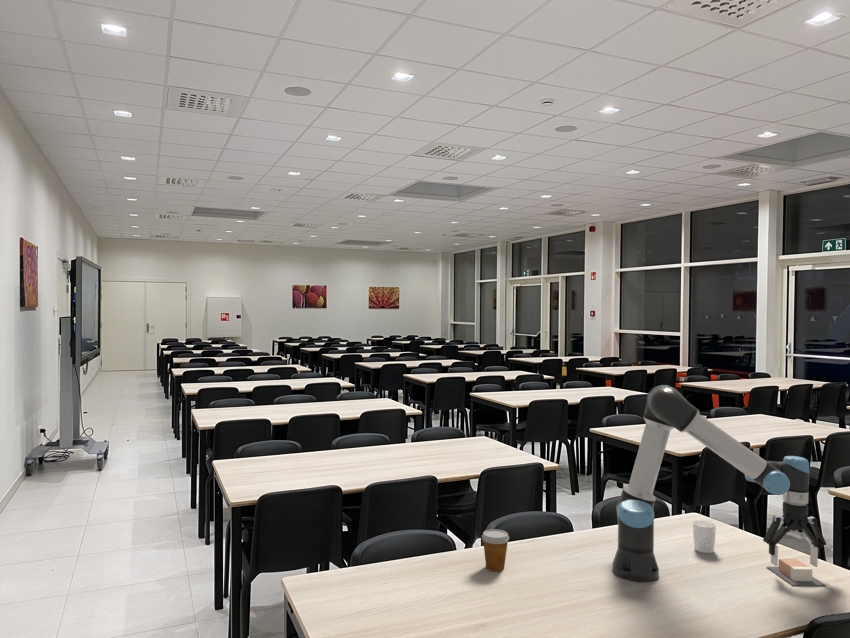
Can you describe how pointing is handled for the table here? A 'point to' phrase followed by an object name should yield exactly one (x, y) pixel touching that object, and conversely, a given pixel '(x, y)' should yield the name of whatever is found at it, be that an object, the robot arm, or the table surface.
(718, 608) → the table surface
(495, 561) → the disposable coffee cup
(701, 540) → the white cup
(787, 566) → the flat block
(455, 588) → the table surface
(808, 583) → the mat
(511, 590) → the table surface
